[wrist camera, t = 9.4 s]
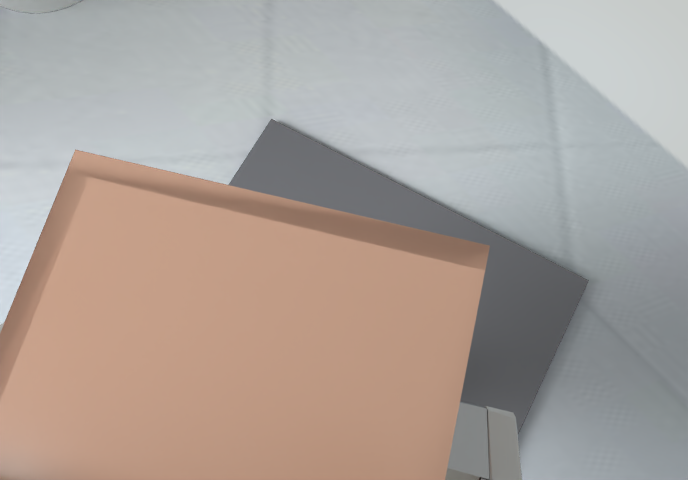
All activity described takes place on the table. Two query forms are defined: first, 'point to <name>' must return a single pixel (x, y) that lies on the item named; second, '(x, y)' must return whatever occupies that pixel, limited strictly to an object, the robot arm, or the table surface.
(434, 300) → the light orange rectangular block
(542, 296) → the mat
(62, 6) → the white oval cylinder
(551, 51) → the table surface
